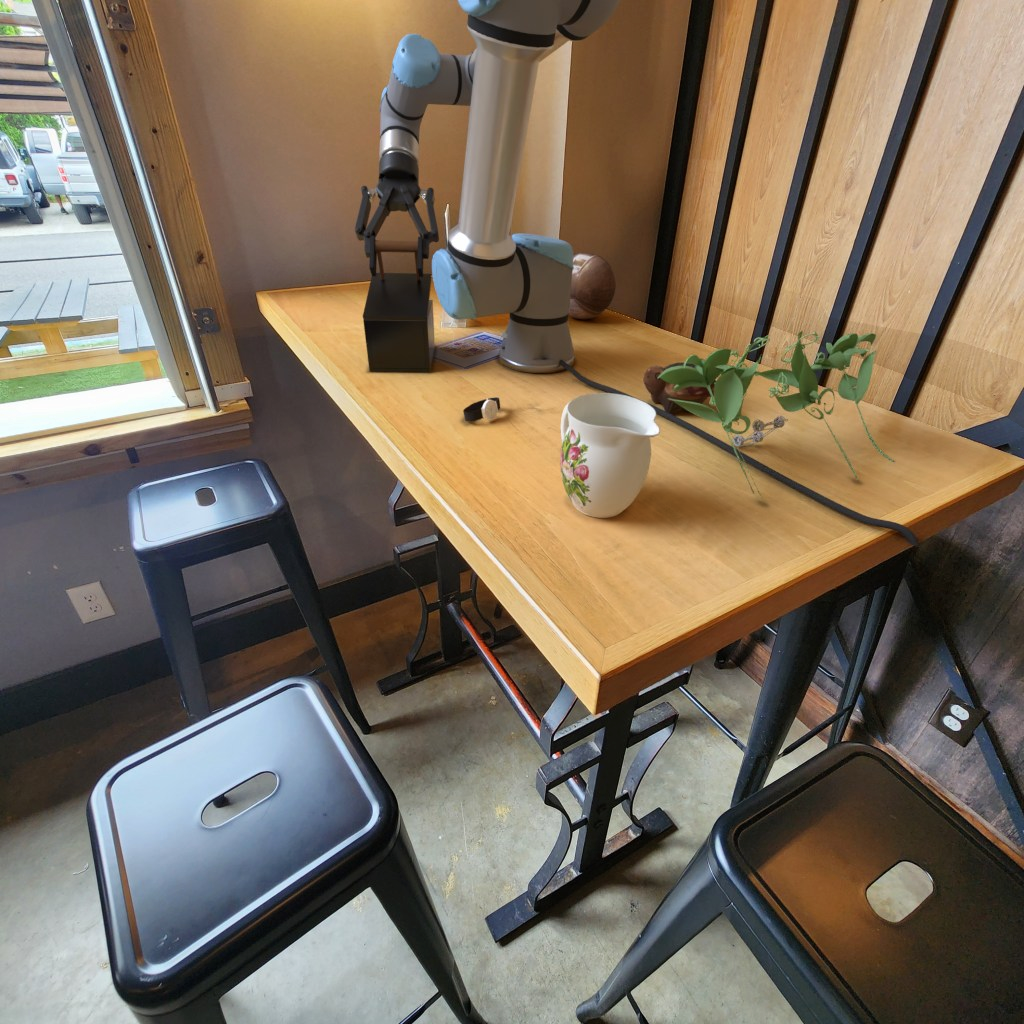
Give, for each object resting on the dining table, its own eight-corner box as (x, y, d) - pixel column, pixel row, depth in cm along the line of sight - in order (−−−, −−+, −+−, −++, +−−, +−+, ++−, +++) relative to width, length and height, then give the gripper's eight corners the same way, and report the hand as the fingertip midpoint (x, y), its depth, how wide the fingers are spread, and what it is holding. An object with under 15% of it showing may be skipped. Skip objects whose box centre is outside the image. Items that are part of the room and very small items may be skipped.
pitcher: (591, 459, 83) (602, 369, 75) (671, 526, 70) (695, 425, 62) (525, 475, 79) (530, 382, 71) (597, 549, 66) (612, 444, 58)
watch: (477, 429, 90) (477, 408, 88) (455, 420, 93) (455, 399, 91) (507, 413, 96) (507, 393, 94) (485, 405, 98) (485, 385, 96)
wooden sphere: (544, 322, 138) (548, 256, 130) (559, 306, 150) (564, 245, 141) (605, 330, 134) (613, 262, 126) (616, 313, 146) (624, 250, 138)
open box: (380, 346, 121) (375, 298, 115) (434, 347, 121) (432, 299, 116) (369, 372, 109) (363, 320, 103) (430, 372, 110) (427, 321, 104)
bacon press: (373, 276, 113) (366, 234, 107) (431, 277, 114) (428, 235, 107) (363, 319, 103) (355, 276, 97) (427, 320, 104) (423, 277, 98)
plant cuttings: (857, 492, 91) (801, 372, 97) (960, 446, 75) (886, 307, 81) (674, 536, 80) (622, 398, 86) (750, 493, 64) (681, 327, 70)
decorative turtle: (624, 402, 101) (633, 357, 97) (694, 397, 106) (705, 354, 102) (655, 422, 93) (666, 374, 89) (729, 416, 98) (742, 370, 94)
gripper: (454, 181, 114) (454, 284, 110) (348, 178, 112) (344, 283, 108) (452, 151, 106) (452, 261, 102) (339, 147, 105) (334, 258, 101)
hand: (396, 272), depth 105 cm, fingers closed on bacon press, 8 cm apart
